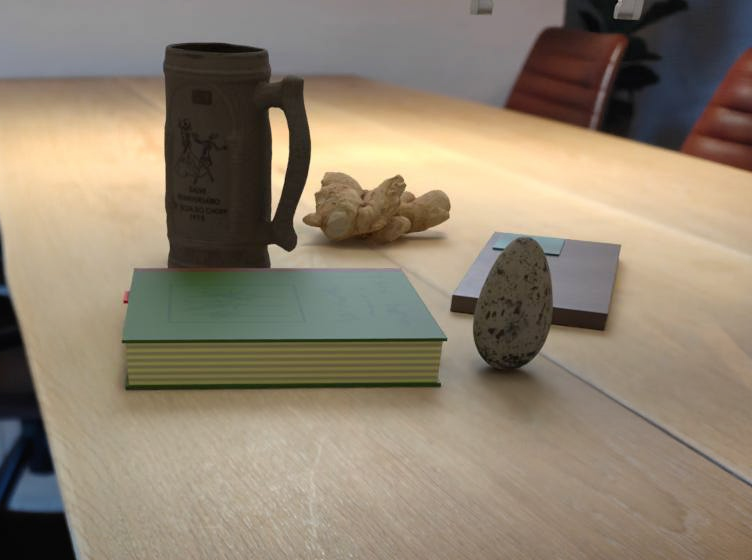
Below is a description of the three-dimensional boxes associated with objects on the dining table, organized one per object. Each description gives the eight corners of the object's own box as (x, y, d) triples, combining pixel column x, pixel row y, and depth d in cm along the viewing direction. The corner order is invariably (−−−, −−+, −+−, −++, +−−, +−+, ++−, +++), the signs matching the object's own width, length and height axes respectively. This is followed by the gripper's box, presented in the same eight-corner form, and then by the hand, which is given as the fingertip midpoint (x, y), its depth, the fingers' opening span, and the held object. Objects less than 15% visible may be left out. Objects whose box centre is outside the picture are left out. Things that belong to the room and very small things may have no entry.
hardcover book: (396, 309, 85) (401, 268, 83) (440, 386, 70) (447, 338, 68) (128, 310, 83) (125, 268, 81) (115, 389, 69) (111, 340, 66)
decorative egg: (548, 382, 71) (577, 248, 65) (473, 380, 71) (494, 246, 65) (532, 355, 76) (557, 228, 70) (461, 354, 76) (480, 226, 70)
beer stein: (142, 275, 92) (141, 41, 80) (188, 249, 100) (194, 33, 88) (282, 305, 89) (304, 66, 76) (318, 277, 97) (344, 56, 84)
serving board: (492, 245, 105) (494, 229, 104) (618, 258, 101) (621, 242, 100) (449, 310, 85) (452, 292, 84) (604, 330, 82) (608, 311, 81)
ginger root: (267, 225, 104) (281, 148, 101) (339, 236, 116) (354, 166, 113) (382, 255, 97) (401, 172, 93) (446, 263, 109) (465, 190, 106)
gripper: (778, -268, 53) (705, 19, 61) (425, -266, 55) (402, 10, 64) (812, -291, 48) (728, 24, 56) (423, -288, 50) (397, 14, 59)
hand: (552, 17), depth 60 cm, fingers open, 8 cm apart
